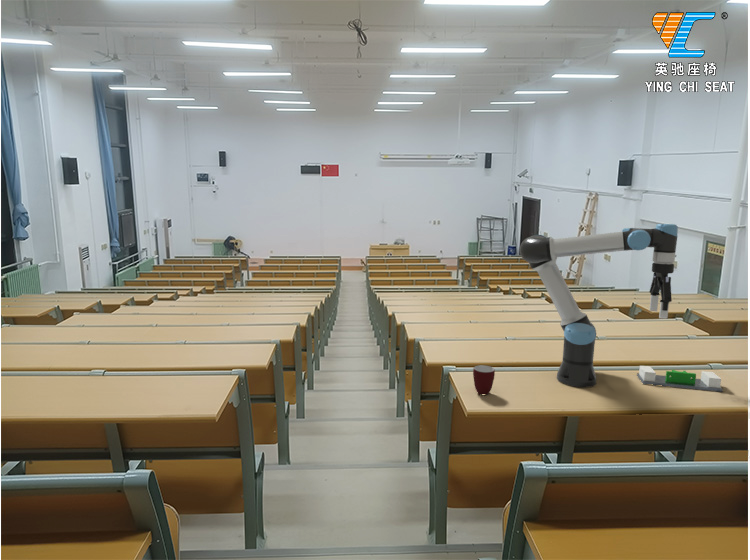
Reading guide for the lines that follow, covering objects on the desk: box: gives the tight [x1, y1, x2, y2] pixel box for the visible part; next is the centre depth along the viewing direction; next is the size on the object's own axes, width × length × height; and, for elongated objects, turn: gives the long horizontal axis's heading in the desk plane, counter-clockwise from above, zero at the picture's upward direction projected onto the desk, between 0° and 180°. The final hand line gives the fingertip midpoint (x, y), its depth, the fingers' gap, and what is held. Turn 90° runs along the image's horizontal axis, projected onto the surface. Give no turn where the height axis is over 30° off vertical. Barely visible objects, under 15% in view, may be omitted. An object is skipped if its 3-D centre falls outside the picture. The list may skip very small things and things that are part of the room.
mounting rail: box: [636, 365, 723, 393], centre depth 193 cm, size 28×10×5 cm, turn 74°
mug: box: [472, 364, 496, 395], centre depth 183 cm, size 11×8×10 cm
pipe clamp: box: [665, 369, 697, 384], centre depth 192 cm, size 10×4×4 cm, turn 75°
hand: (658, 314), depth 191 cm, fingers open, 13 cm apart
